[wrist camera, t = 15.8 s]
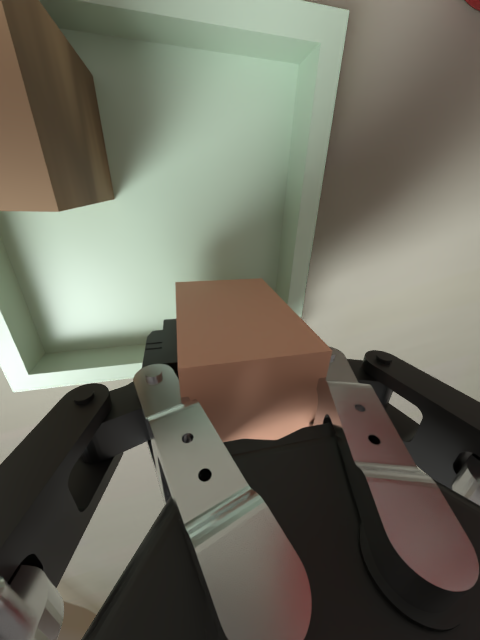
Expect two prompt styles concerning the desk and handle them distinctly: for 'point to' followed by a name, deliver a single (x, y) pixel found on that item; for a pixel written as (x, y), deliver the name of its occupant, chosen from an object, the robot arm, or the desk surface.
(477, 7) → the mug
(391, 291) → the desk surface
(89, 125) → the walnut block
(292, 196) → the tray
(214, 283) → the terracotta block
